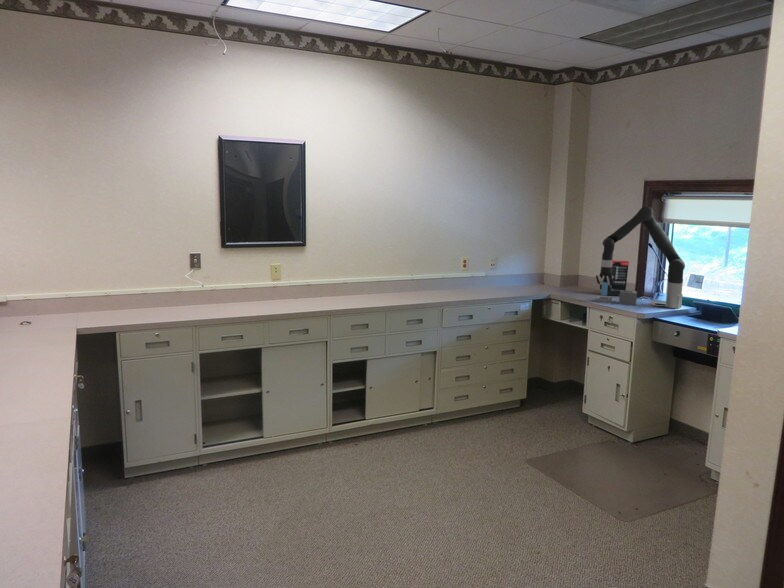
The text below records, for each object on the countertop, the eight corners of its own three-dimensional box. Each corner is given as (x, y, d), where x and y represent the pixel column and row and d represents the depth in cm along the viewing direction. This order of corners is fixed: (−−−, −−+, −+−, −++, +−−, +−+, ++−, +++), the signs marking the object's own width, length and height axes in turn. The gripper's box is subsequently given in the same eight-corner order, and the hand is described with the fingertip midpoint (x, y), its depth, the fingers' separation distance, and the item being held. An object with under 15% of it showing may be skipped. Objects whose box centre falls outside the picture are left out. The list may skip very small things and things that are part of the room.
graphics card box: (623, 295, 444) (626, 260, 440) (626, 296, 437) (629, 261, 433) (600, 294, 446) (603, 259, 441) (603, 295, 439) (606, 260, 435)
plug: (607, 294, 412) (608, 282, 411) (606, 295, 409) (608, 283, 407) (601, 294, 414) (602, 281, 412) (601, 295, 410) (602, 282, 409)
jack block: (635, 303, 409) (636, 291, 408) (635, 305, 399) (636, 293, 397) (595, 299, 419) (596, 288, 417) (595, 302, 409) (596, 290, 407)
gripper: (617, 266, 409) (615, 290, 411) (596, 265, 414) (594, 288, 417) (617, 267, 402) (614, 291, 404) (595, 266, 407) (593, 289, 410)
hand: (604, 289), depth 410 cm, fingers closed on plug, 4 cm apart
